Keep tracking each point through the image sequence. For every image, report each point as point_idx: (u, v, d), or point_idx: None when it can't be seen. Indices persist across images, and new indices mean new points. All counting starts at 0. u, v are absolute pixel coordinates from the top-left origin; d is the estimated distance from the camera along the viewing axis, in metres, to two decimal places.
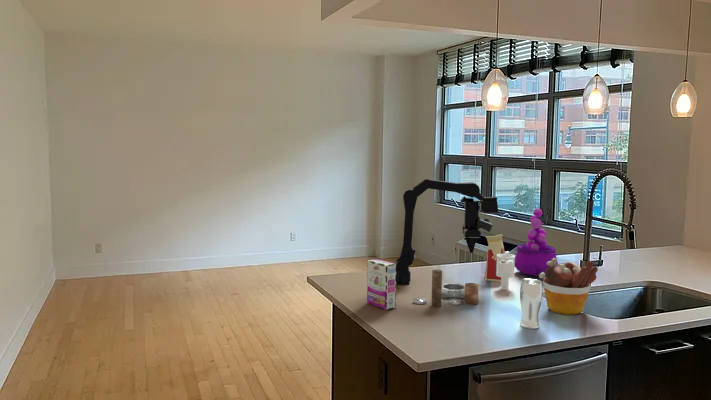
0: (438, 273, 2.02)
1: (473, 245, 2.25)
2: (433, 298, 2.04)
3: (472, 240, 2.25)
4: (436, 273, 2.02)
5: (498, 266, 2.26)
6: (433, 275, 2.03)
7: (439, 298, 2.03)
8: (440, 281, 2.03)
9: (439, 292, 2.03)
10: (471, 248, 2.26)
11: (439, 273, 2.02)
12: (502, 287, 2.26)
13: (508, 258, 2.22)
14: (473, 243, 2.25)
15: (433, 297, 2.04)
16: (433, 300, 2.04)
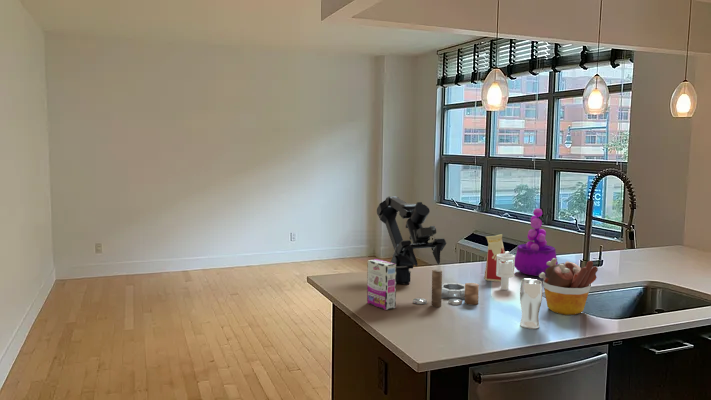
0: (438, 273, 2.02)
1: (412, 257, 2.11)
2: (433, 298, 2.04)
3: (410, 253, 2.12)
4: (436, 273, 2.02)
5: (498, 266, 2.26)
6: (433, 275, 2.03)
7: (439, 298, 2.03)
8: (440, 281, 2.03)
9: (439, 292, 2.03)
10: (413, 261, 2.11)
11: (439, 273, 2.02)
12: (502, 287, 2.26)
13: (508, 258, 2.22)
14: (411, 255, 2.11)
15: (433, 297, 2.04)
16: (433, 300, 2.04)
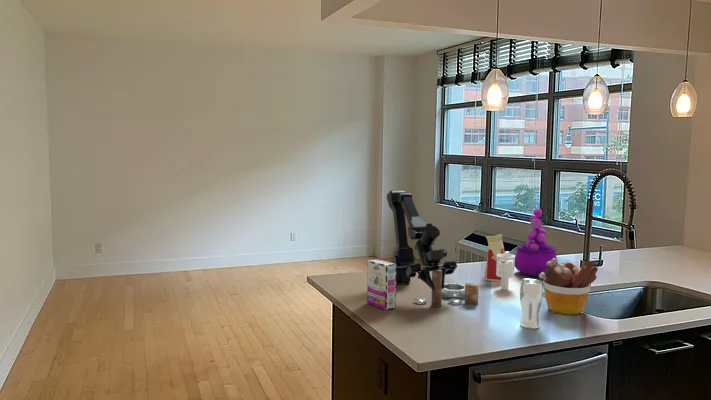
0: (438, 273, 2.02)
1: (428, 280, 2.04)
2: (433, 298, 2.04)
3: (426, 276, 2.05)
4: (436, 273, 2.02)
5: (498, 266, 2.26)
6: (433, 275, 2.03)
7: (439, 298, 2.03)
8: (440, 281, 2.03)
9: (439, 292, 2.03)
10: (429, 284, 2.03)
11: (439, 273, 2.02)
12: (502, 287, 2.26)
13: (508, 258, 2.22)
14: (427, 278, 2.04)
15: (433, 297, 2.04)
16: (433, 300, 2.04)
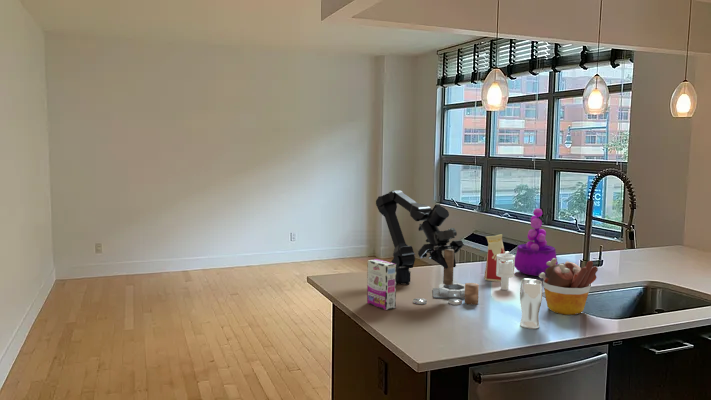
0: (451, 252, 2.08)
1: (441, 260, 2.09)
2: (446, 277, 2.09)
3: (438, 256, 2.10)
4: (449, 252, 2.08)
5: (498, 266, 2.26)
6: (446, 254, 2.08)
7: (451, 276, 2.09)
8: (453, 260, 2.09)
9: (452, 270, 2.09)
10: (442, 263, 2.09)
11: (452, 252, 2.08)
12: (502, 287, 2.26)
13: (508, 258, 2.22)
14: (440, 258, 2.09)
15: (446, 276, 2.09)
16: (446, 279, 2.09)
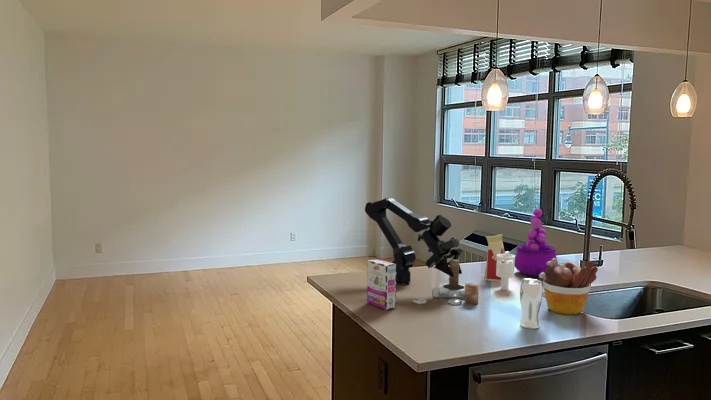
0: (457, 262, 2.16)
1: (447, 269, 2.15)
2: (453, 286, 2.17)
3: (443, 265, 2.16)
4: (456, 262, 2.16)
5: (498, 266, 2.26)
6: (453, 265, 2.16)
7: None
8: (458, 270, 2.17)
9: (458, 280, 2.17)
10: (448, 272, 2.15)
11: (458, 262, 2.16)
12: (502, 287, 2.26)
13: (508, 258, 2.22)
14: (446, 267, 2.15)
15: (453, 285, 2.17)
16: (453, 288, 2.17)
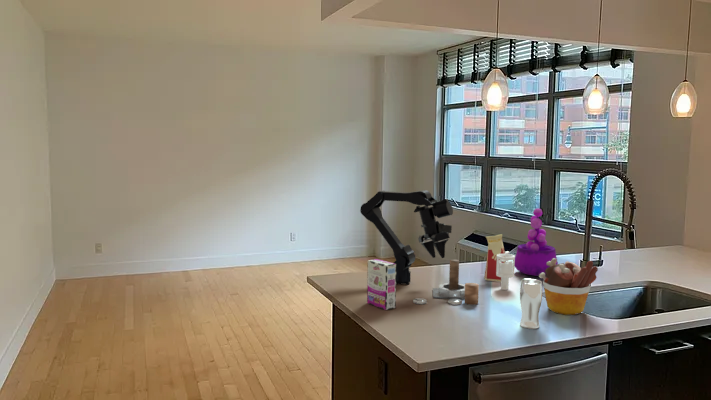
0: (457, 262, 2.16)
1: (443, 249, 2.22)
2: (453, 286, 2.17)
3: (441, 244, 2.22)
4: (456, 263, 2.16)
5: (498, 266, 2.26)
6: (453, 265, 2.16)
7: None
8: (458, 270, 2.17)
9: (458, 280, 2.17)
10: (442, 252, 2.22)
11: (458, 262, 2.16)
12: (502, 287, 2.26)
13: (508, 258, 2.22)
14: (443, 247, 2.22)
15: (453, 285, 2.17)
16: (453, 288, 2.17)
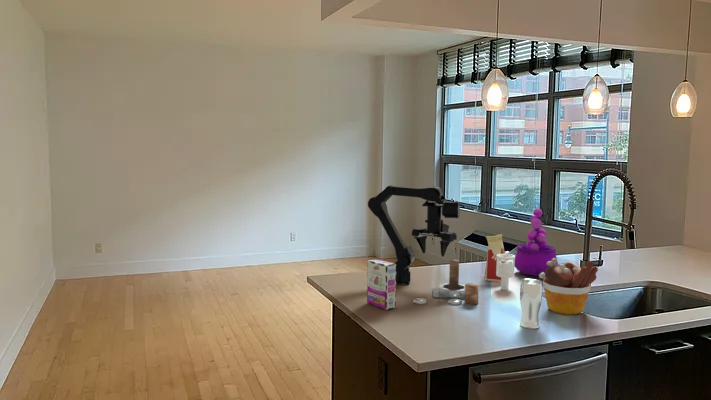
0: (457, 262, 2.16)
1: (446, 248, 2.27)
2: (453, 286, 2.17)
3: (445, 243, 2.26)
4: (456, 263, 2.16)
5: (498, 266, 2.26)
6: (453, 265, 2.16)
7: None
8: (458, 270, 2.17)
9: (458, 280, 2.17)
10: (444, 251, 2.26)
11: (458, 262, 2.16)
12: (502, 287, 2.26)
13: (508, 258, 2.22)
14: (446, 246, 2.26)
15: (453, 285, 2.17)
16: (453, 288, 2.17)
